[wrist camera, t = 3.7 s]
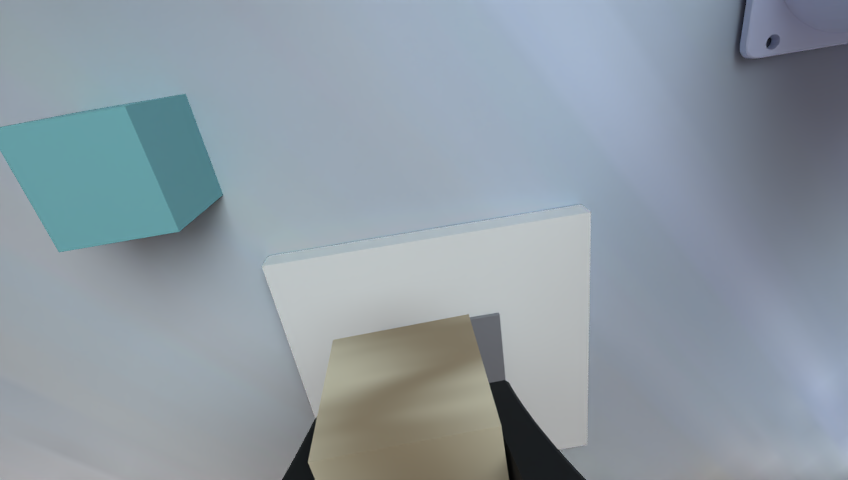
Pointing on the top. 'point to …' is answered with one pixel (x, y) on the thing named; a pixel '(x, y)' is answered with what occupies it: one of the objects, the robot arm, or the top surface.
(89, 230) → the teal brick
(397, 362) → the birch brick
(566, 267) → the baseplate
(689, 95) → the top surface
